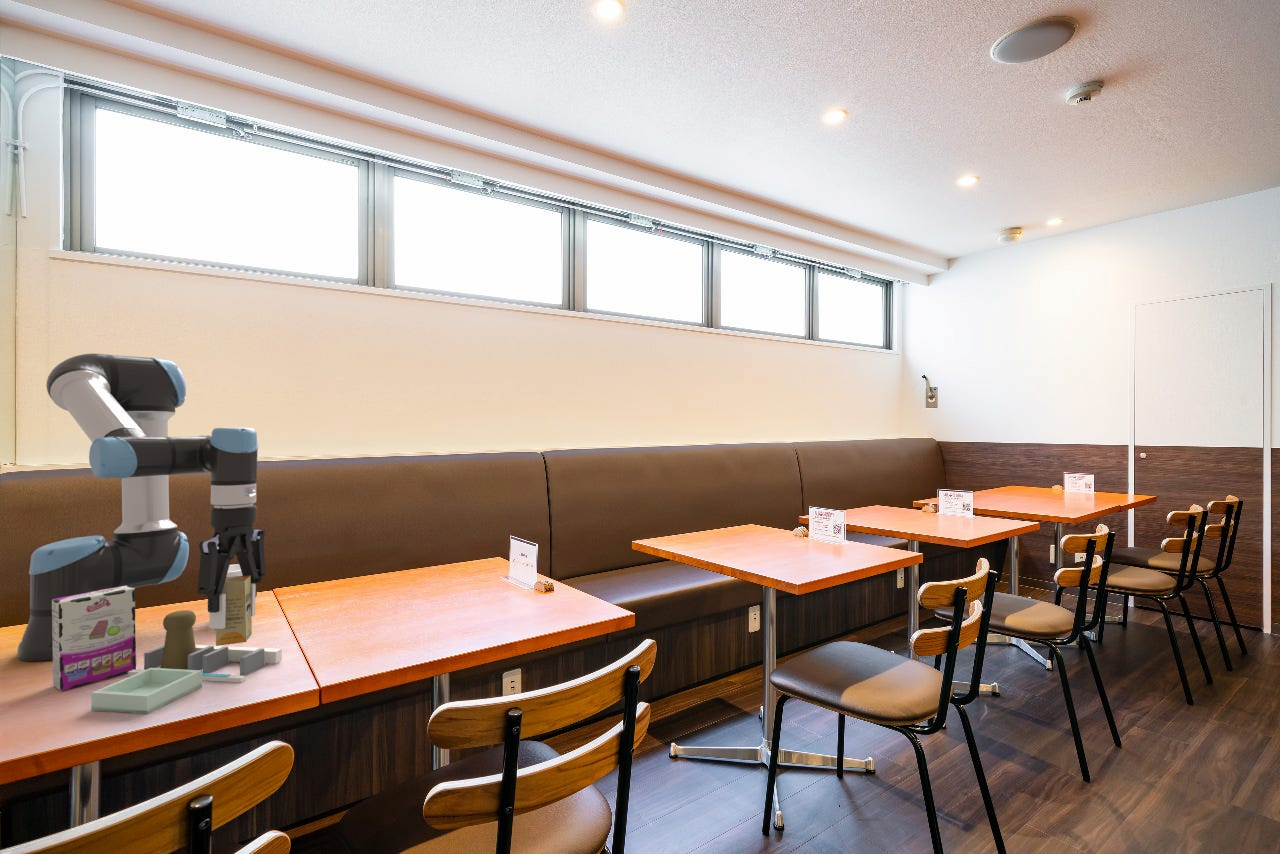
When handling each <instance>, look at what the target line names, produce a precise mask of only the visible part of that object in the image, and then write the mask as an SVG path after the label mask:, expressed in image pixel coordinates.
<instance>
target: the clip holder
mask: <svg viewBox="0 0 1280 854" xmlns="http://www.w3.org/2000/svg"><path fill="white" fill-rule="evenodd" d="M195 646H196V652H194V653H191V654H189V655H188V670H202V681H211V682H212V681H213V682H229V683H230V682H231V683H242V682H244V681H246V677H247V676H248V675H250V674H251V673H253V672H255V671H257V670H260V669H261V668H263V667H265V664H270V665H271V664H272V665H273V664H274V665H277V664H278V663H279V662H282V658H283V657H282V656H283V654H282V652H283V651H282V650H283V649H282V648H271V647H269V648H268V647H264V648H263V647H249V646H248V647H247V646H229V645H220V646H216V645H211V644H209V645H207V644H195ZM163 650H164V645H163V644H162V645H161V646H158V647H156V648H153V649H150V650H148V651H146V652H145V651H144V653H143V654H144V655H143V656H144V659H143V660H144V661H143V662H144V663H143V664H144V665H143V667H144V668H143V669H136V670H131V671H129V672H128V673H127V676H128V677H130V676H132V675H135V674H137V673H139V672H142V671H144V670H146V669H149V668H160V667H161V662H162V656H163ZM229 662H237V663H239V675H237V674H235V675H233V674H231V673H230V674H229V673H228V674H227V673H213V672H214V671H216V670H218V669H221V668H223V667H225V666H227V665H229Z"/></svg>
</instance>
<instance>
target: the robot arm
mask: <svg viewBox="0 0 1280 854" xmlns="http://www.w3.org/2000/svg"><path fill="white" fill-rule="evenodd" d="M184 377H185V376H184V375H183V373H182V371H181V368H179V366H178V365H177V364H176V363H174V362H173V361H171V360H168V359H162V358H155V357H145V356H133V355H132V356H131V355H130V356H128V355H116V354H106V353H105V354H103V353H84V354H79V355H74V356H72V357H70V358H67V359H65V360H64V361H62V362H60V363H59V364H57V365H56V366H55V367H54V368H53V369H52V370H51V372H50V373H49V374H48V377H47V379H46V384H45V386H46V391H47V393H48V396H49V398H50V399H51V400H52V401H53V403H54V404H55V405H56V406H57V407H59V408H60V409H62V410H64V411H68V413H69V414H70V416H72V418H73V420H75V422H76V423H77V425H78V426H79V427H80V428H81V430H82V431H83V432H84V434H85V435H86V437H87V438H88V439H89V440H90V442H91V444H90V447H89V451H88V454H89V455H88V460H89V466H90V469H91V472H92V473H93V475H95V476H96V477H98V478H101V479H114V478H115V479H121V513H122V516H121V517H122V519H121V521H122V522H121V524H120V525H119V526H117V528H116V529H115V530H114V531H113V540H107V539H106V538H105V537H104V536H103V535H89V536H80V537H74V538H68V539H63V540H60V541H59V540H58V541H55V542H52V543H48V544H44V545H42V546H39V547H38V548H37V549H35V550H34V551H33V552H32V554H31V557H30V565H29V571H28V574H29V621H28V622H27V625H26V627H25V630H24V633H23V635H22V638H21V641H20V643H18V647H17V659H18V660H21V661H25V662H41V661H53V643H52V642H53V636H52V599H56V598H62V597H67V596H72V595H78V594H83V593H88V592H93V591H99V590H104V589H110V588H115V587H121V586H129V587H132V588H135V589H137V588H141V587H148V586H157V585H160V584H163V583H167V582H172V581H174V580H176V579H178V578H179V577H180V576H181V575H182V574H183V571H184V570H185V568H186V566H187V564H188V561H189V560H188V559H189V552H190V545H189V542H188V537H187V535H186V534H185V533H184V532H183V531H178V525H177V524H176V523H175V522H173V521H172V520H171V519H170V492H169V491H170V490H169V489H170V486H169V485H170V484H169V482H170V481H169V479H170V478H169V477H170V476H173V475H194V474H210V505H212V506H213V507H212V508H211V509H210V526H211V527H212V528H213V529H214V531H213V535H212V538H210V539H208V540H207V541H205V540H202V541H200V542H199V544H198V547H199V551H200V559H199V569H198V570H199V571H198V581H197V590H196V594H198V595H203V596H207V612H208V613H209V624H208V625H209V629H214V630H215V629H223V628H225V621H226V594H221V593H222V590H223V587H224V583H225V580H226V576H227V572H228V569H229V565H231V561H232V560H233V559H234V558H235V555H236V558H237V562H238V564H239V565H240V569H241V572H242V575H243V576H246V575H251V617H255V616H256V598H257V596H258V595H257V593H258V583H259V584H260V583H262V581H263V578H264V577H265V576H266V573H267V572H266V560H265V559H266V558H265V544H264V541H265V535H266V531H265V530H264V529H254V526H253V525H255V524H257V521H258V519H257V516H258V512H257V511H258V510H257V509H258V507H257V506H256V505H255V503H257V482H258V480H257V479H258V477H257V476H258V451H259V450H258V449H259V443H258V433H257V431H256V429H255V428H252V427H215V428H213V429H212V431H211V435H197V436H169V429H168V427H169V425H168V421H169V420H170V419H171V418H172V417H173V416H175V415H176V409H177V408H180V407H181V406H183V405H184V403H185V400H186V396H187V387H186V386H187V385H186V381H185V378H184ZM215 587H216V589H215Z"/></svg>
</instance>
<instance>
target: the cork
mask: <svg viewBox="0 0 1280 854" xmlns="http://www.w3.org/2000/svg"><path fill="white" fill-rule="evenodd" d="M162 620H163V621H162V625H163V626H162V627H163V629H164V630H165V631H166V632H165V638H164V650H163V656H162V662H161V666H160V668H166V669H183V670H188V655H189V654H191V653H194V652H196V646H195V645H196V641H195V635H194V628H193V626H194V625H195V623H196V620H197V616H196V613H194V611H192V610H189V609H188V610H186V609H185V610H177V611H176V610H175V611H173V612H170V613H168V614H166V615H165V617H164V618H163V619H162Z"/></svg>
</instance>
